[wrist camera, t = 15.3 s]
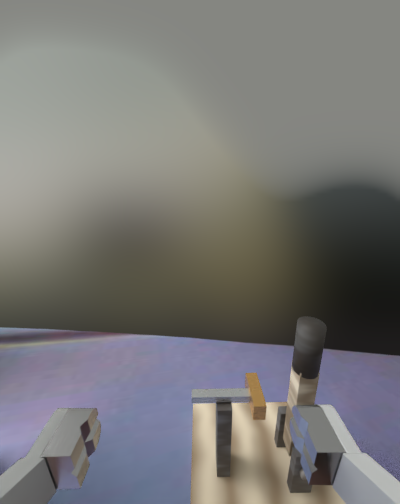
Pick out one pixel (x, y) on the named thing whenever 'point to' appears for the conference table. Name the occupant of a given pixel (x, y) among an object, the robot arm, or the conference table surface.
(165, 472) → the conference table surface
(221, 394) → the pin
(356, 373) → the conference table surface
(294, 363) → the lever
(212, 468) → the frame
